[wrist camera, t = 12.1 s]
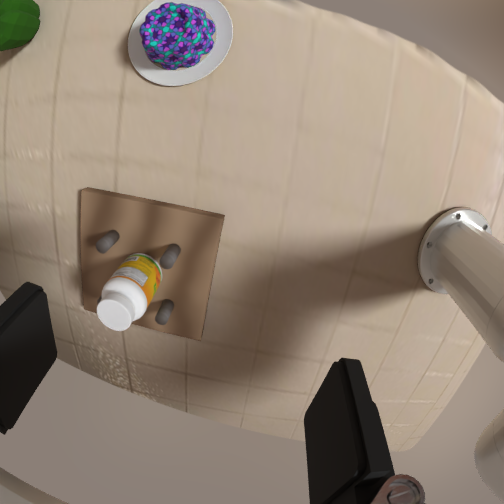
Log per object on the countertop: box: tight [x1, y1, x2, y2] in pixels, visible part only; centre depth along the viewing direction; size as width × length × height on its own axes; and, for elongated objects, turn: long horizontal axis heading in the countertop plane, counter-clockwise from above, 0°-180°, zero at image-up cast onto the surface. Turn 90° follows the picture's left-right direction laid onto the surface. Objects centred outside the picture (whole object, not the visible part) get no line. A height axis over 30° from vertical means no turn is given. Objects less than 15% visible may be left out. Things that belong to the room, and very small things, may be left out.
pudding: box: [128, 0, 233, 86], centre depth 26 cm, size 12×12×5 cm
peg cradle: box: [81, 187, 225, 341], centre depth 38 cm, size 18×18×5 cm
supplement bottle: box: [97, 253, 162, 331], centre depth 34 cm, size 5×5×10 cm
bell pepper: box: [0, 0, 40, 51], centre depth 21 cm, size 8×8×10 cm
